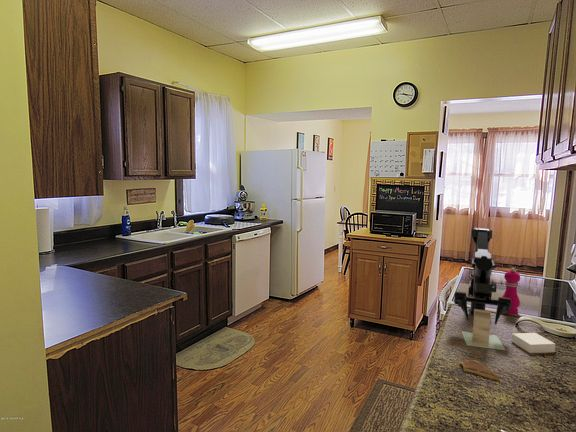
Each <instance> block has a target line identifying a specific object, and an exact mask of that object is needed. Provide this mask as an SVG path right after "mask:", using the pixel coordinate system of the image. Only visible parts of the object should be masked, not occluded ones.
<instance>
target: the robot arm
mask: <svg viewBox="0 0 576 432" xmlns="http://www.w3.org/2000/svg"><path fill="white" fill-rule="evenodd" d="M470 230H471V232H470V238H471V239H472V244H473V246H474V247H475V252H474V254H473V258H471V268H473V269H472V270H474V272H473V273H474V274H473V278H472V279H471V280H470V285H468V290H467V292H463V291H455V292H454V299H453V303H454V304H455V305H457V306H458V307H460V308H461V310H462V313H463V315H464V318H465V320H466V321H469V314H470V315H473V316H474V309H478V310H485V311H486V305H491V306H496V311H495V318H494V325H495V326H497V323H498V322H499V319H500V317H501V315H502V314H507V313H506V311H510V308H511V300H510V298H504V297H502V296H498V299H492V296H493V295H492V294H493V293H497V286H498V285H497V283H496V282H495V283H494V282H491V276H492V273H493V270H494V269H496V266H497V265H496V263H495V260H493V259H492V258H493V257H492V256H493V255H492V253H490V252H489V245H490V241H491V240H492V239H493V230H491V229H490V228H486V227H485V228H484V227H483V228H482V227H474V228H473V229H470ZM468 302H469V303H470V308H468ZM468 312H469V313H468Z"/></svg>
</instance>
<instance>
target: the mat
mask: <svg viewBox="0 0 576 432" xmlns="http://www.w3.org/2000/svg"><path fill="white" fill-rule="evenodd" d="M461 335H462V336H463V339H464V341H465V344H466V346H468V347H476V348H484V349H492V350H499V351H500V350H501V351H506V348H505V346H504V345H503V344H502V342H501V340H500V338H499V337H498V336H497V334H496V335H495V334H489V346H485V345H480V344H474V343H473V339H472V337H473V331H472V332H469V331H463V330H462V331H461Z"/></svg>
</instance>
